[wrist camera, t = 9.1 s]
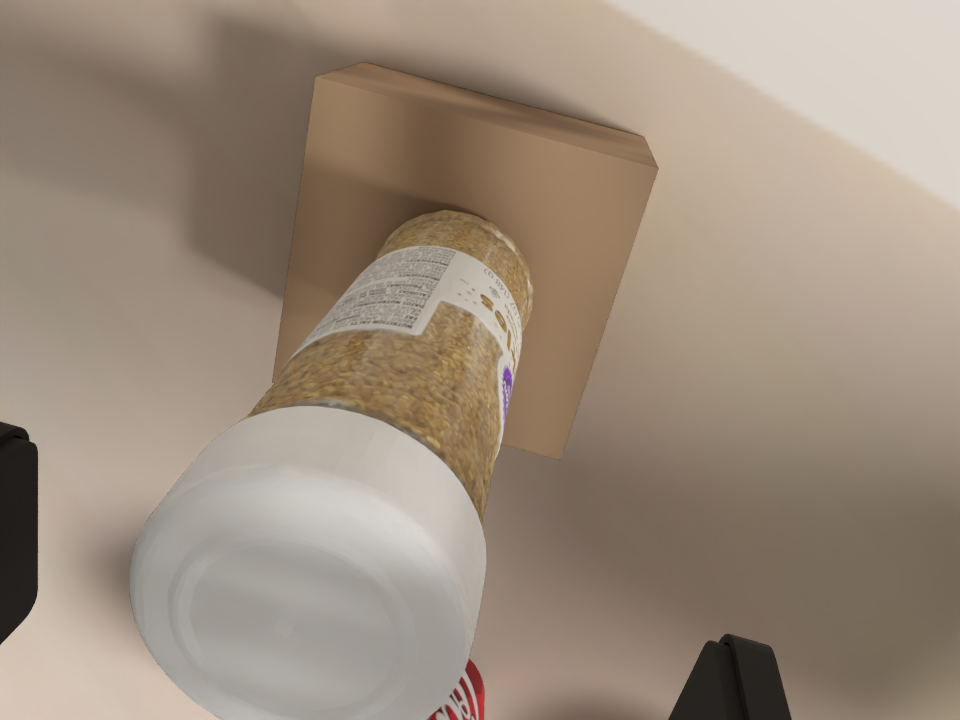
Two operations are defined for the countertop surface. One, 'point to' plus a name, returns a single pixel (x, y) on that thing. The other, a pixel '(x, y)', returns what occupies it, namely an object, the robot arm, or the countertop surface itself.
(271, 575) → the sprinkles bottle
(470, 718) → the soda can
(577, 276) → the walnut block
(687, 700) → the robot arm
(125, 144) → the countertop surface
